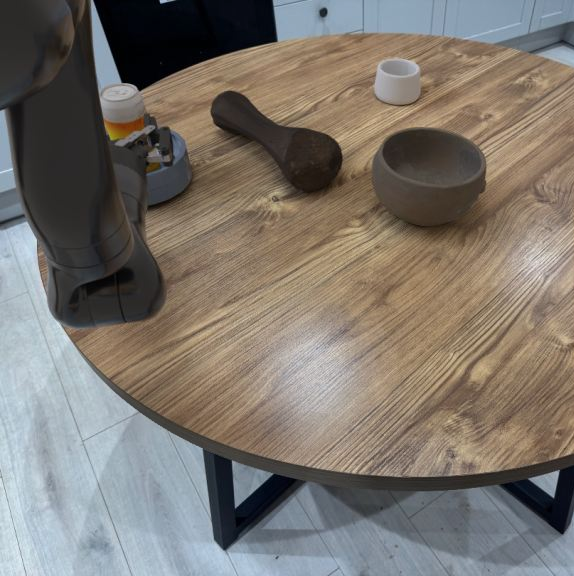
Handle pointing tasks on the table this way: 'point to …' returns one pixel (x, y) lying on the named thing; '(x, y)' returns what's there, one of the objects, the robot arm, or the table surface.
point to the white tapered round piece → (397, 81)
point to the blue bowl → (169, 174)
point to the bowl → (428, 175)
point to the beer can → (124, 113)
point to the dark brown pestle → (281, 142)
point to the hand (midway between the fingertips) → (114, 122)
